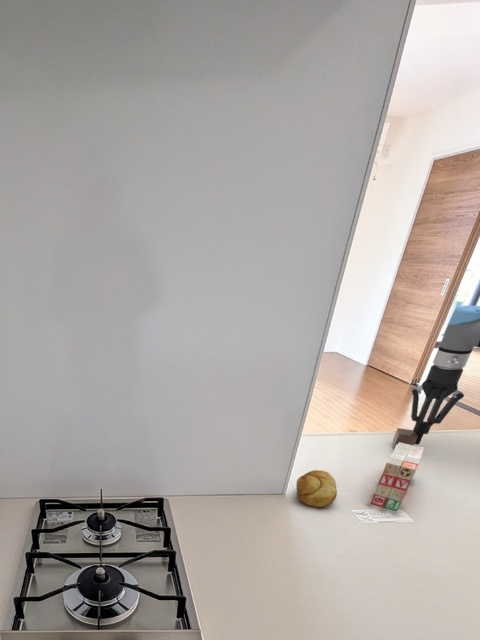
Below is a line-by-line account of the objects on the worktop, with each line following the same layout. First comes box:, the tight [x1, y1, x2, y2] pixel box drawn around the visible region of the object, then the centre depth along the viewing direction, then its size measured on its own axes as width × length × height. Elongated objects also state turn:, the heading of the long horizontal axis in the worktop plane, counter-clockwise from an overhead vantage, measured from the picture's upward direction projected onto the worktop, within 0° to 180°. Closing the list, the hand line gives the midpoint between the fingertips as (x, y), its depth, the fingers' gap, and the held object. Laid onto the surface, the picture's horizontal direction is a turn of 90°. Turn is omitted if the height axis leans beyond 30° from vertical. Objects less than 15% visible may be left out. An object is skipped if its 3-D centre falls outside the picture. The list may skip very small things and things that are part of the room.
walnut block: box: [391, 427, 418, 450], centre depth 137 cm, size 5×5×5 cm
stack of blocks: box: [370, 442, 425, 512], centre depth 114 cm, size 21×6×12 cm, turn 141°
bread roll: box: [296, 469, 338, 508], centre depth 114 cm, size 13×10×8 cm
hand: (415, 442), depth 136 cm, fingers closed
